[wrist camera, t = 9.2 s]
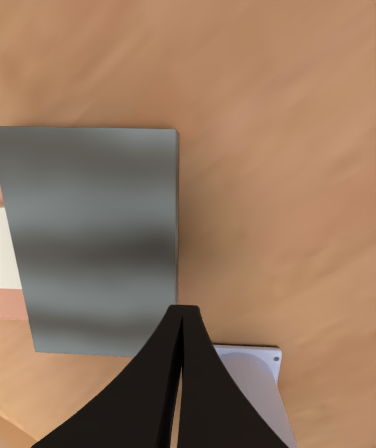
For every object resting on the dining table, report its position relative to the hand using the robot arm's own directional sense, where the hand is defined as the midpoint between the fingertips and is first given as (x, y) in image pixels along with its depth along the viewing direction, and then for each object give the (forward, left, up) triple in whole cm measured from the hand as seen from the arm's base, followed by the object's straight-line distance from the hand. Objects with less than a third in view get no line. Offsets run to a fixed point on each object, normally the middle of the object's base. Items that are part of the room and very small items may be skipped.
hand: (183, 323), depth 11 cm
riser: (0, +7, -9) cm, 12 cm away
